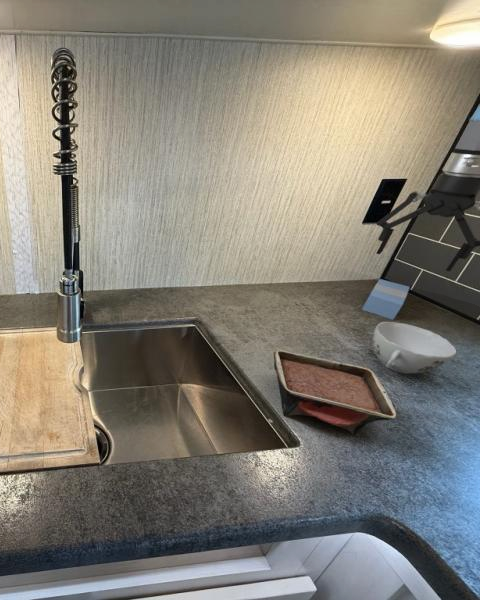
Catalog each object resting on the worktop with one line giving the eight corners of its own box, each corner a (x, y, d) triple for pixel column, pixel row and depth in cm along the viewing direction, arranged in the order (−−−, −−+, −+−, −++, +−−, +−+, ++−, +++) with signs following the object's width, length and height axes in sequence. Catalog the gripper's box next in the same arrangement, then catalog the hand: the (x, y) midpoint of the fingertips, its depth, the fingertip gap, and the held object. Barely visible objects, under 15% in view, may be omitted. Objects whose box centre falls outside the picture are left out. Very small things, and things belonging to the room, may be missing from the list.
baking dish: (369, 458, 53) (411, 421, 48) (260, 411, 58) (288, 372, 53) (345, 402, 65) (377, 367, 60) (256, 367, 70) (278, 332, 65)
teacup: (375, 341, 78) (392, 314, 74) (442, 372, 69) (466, 344, 64) (344, 361, 72) (361, 333, 67) (414, 398, 62) (438, 369, 58)
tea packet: (371, 292, 99) (379, 278, 97) (400, 301, 95) (410, 286, 92) (361, 309, 90) (369, 294, 88) (393, 320, 86) (403, 304, 83)
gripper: (389, 169, 77) (350, 249, 88) (555, 185, 60) (481, 282, 71) (396, 166, 81) (358, 243, 92) (553, 180, 64) (484, 273, 75)
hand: (411, 260), depth 81 cm, fingers open, 13 cm apart
